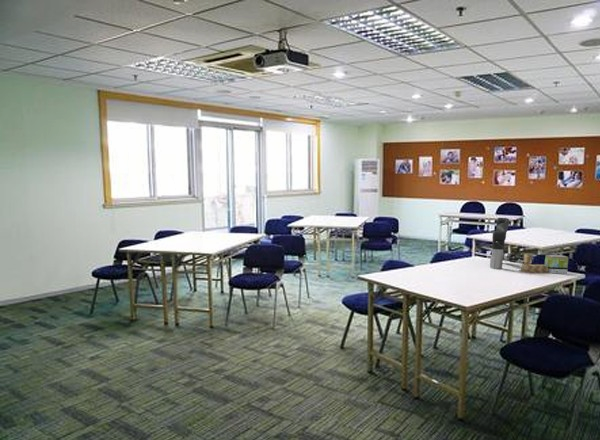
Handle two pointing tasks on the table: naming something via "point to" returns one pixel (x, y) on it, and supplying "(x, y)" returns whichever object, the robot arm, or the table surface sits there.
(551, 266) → the tea box
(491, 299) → the table surface
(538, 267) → the ridge board
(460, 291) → the table surface
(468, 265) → the table surface
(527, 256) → the post
